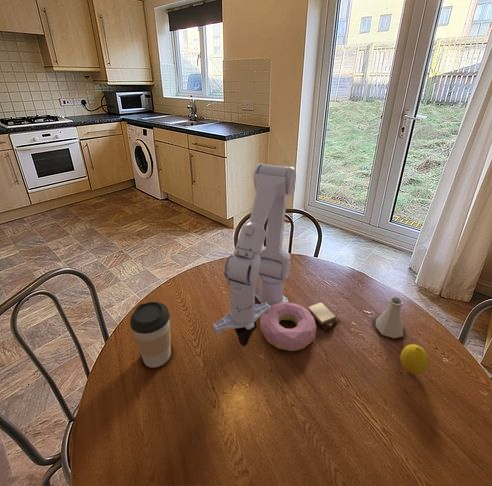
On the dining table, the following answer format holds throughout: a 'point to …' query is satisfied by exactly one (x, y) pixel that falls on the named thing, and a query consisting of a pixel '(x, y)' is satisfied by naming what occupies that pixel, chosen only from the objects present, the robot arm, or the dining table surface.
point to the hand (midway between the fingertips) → (243, 342)
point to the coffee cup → (152, 333)
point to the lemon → (414, 359)
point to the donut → (288, 337)
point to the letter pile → (322, 315)
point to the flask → (391, 319)
